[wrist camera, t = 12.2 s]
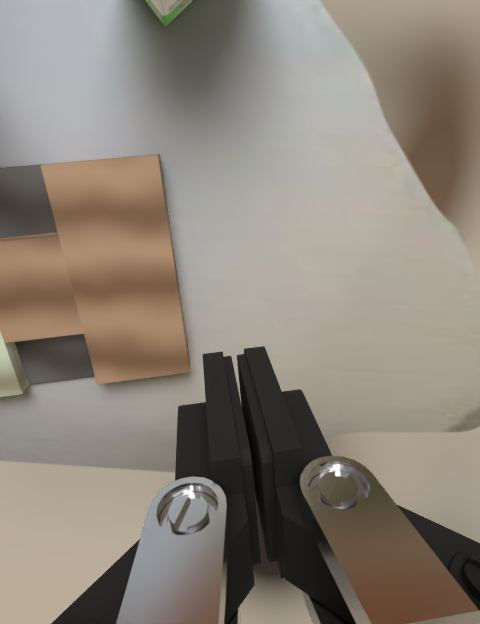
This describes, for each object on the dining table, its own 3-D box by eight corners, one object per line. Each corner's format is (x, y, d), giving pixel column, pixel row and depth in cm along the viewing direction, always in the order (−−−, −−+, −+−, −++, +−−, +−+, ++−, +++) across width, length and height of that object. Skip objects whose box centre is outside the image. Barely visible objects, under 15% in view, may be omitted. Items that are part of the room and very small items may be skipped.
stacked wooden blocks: (-162, 182, 31) (-196, 185, 28) (159, 154, 33) (156, 155, 30) (-65, 394, 39) (-84, 413, 36) (190, 362, 41) (190, 377, 38)
